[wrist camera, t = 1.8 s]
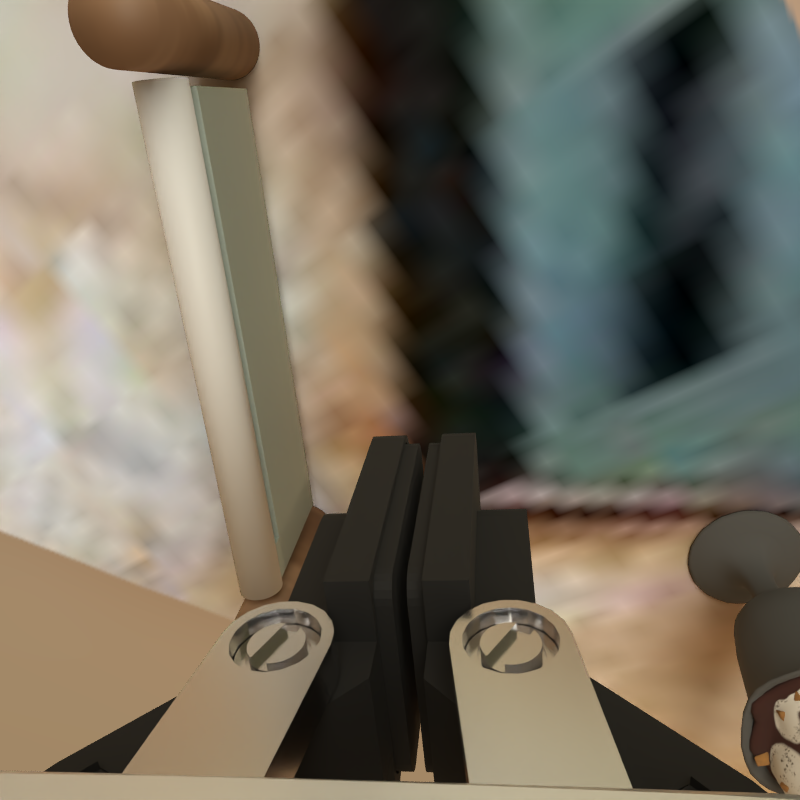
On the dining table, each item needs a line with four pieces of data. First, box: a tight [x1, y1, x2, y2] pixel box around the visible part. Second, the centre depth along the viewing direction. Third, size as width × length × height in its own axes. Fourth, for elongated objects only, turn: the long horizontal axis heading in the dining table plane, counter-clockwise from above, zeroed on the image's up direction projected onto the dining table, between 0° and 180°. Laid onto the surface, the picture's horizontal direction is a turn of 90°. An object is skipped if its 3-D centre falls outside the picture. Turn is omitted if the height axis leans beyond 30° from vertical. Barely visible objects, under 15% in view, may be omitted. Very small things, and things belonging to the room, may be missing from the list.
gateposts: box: [68, 0, 325, 620], centre depth 26 cm, size 23×2×9 cm, turn 5°
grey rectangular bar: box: [132, 77, 313, 600], centre depth 27 cm, size 18×2×7 cm, turn 5°
